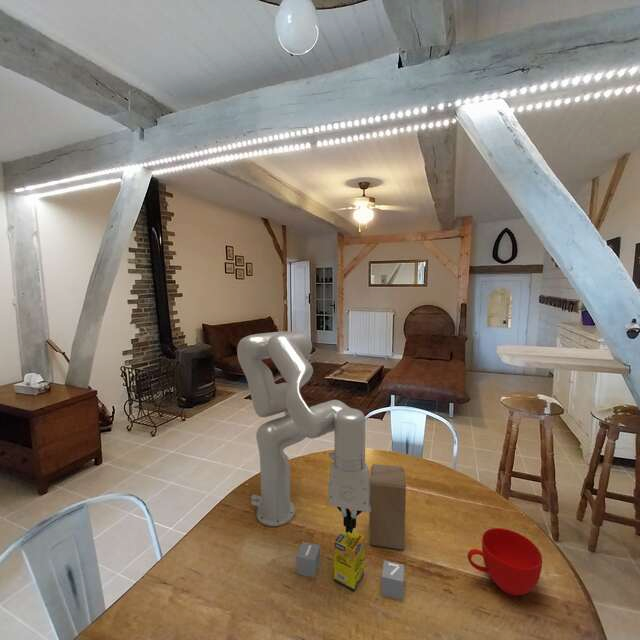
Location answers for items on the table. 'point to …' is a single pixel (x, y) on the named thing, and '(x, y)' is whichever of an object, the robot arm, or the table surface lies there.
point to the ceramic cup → (509, 560)
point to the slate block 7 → (393, 580)
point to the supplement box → (349, 559)
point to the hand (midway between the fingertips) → (349, 528)
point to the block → (387, 506)
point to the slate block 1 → (308, 559)
